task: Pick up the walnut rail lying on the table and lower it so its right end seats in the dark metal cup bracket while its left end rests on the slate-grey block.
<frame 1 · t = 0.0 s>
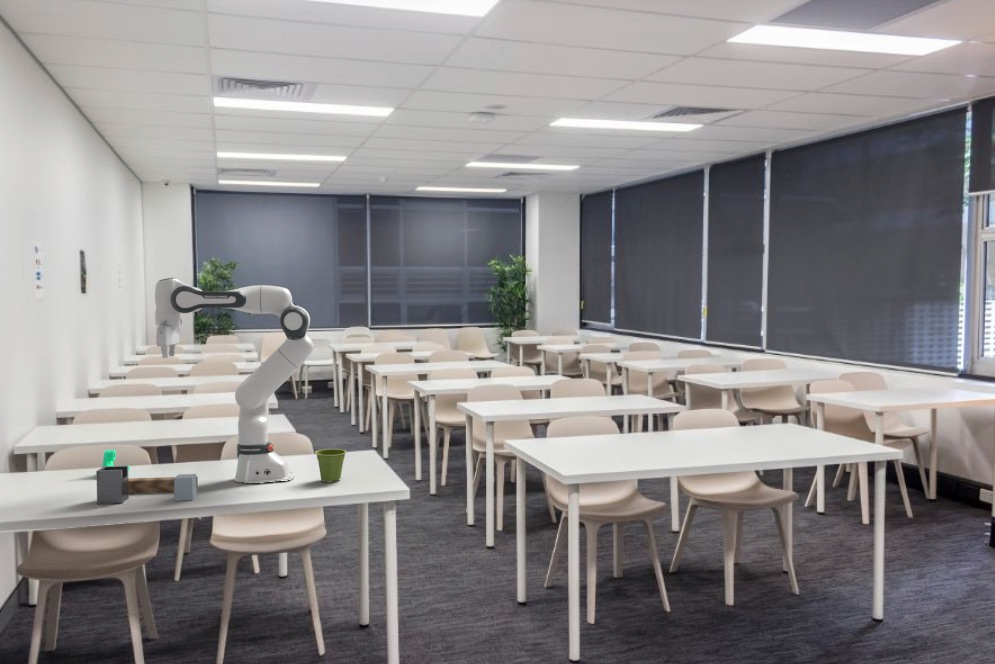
hand: (168, 357, 297), 48 cm above the table, tool pointing down, fingers open, 8 cm apart
camera mount: (116, 476, 310), on the table
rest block: (185, 498, 274), on the table
cup bracket: (113, 501, 271), on the table
plant pot: (331, 481, 301), on the table
rail: (159, 492, 284), on the table
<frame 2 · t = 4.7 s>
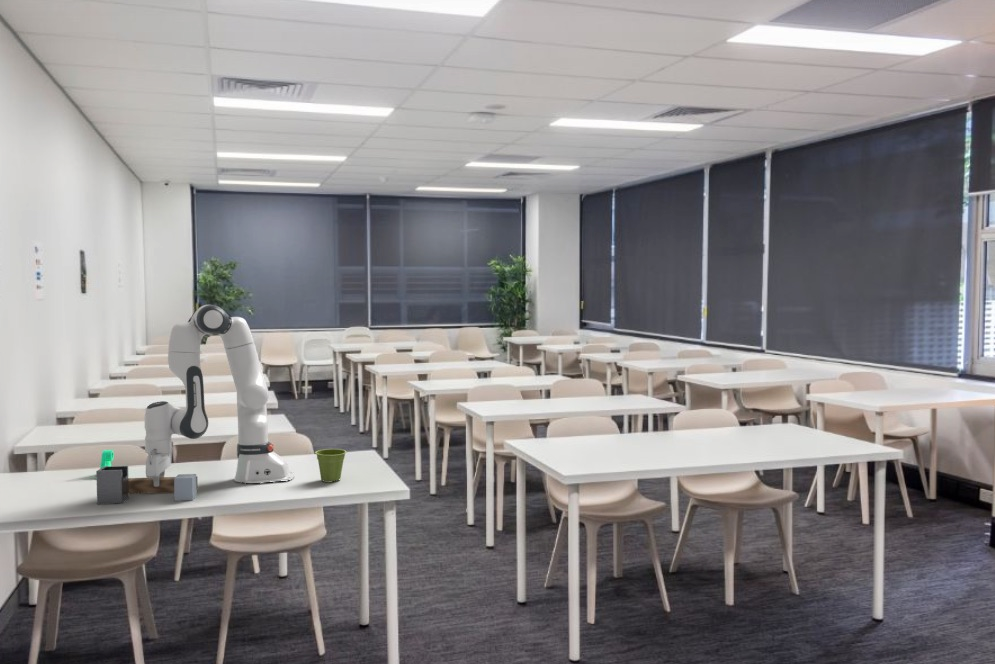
hand: (158, 484, 284), 3 cm above the table, tool pointing down, fingers closed on rail, 4 cm apart
rail: (159, 492, 284), on the table, touching gripper
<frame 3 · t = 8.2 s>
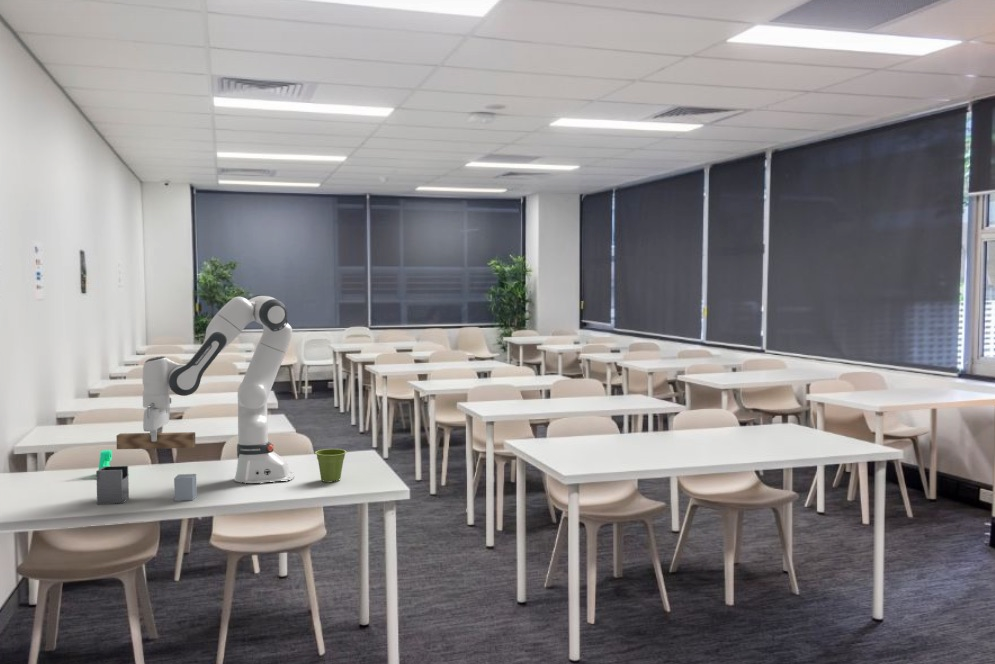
hand: (156, 439, 282), 19 cm above the table, tool pointing down, fingers closed on rail, 4 cm apart
rail: (156, 447, 282), point 16 cm above the table, touching gripper
when the fingers open (12 cm above the table, at t = 11.8 s): rail stays where it is, resting on cup bracket, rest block.
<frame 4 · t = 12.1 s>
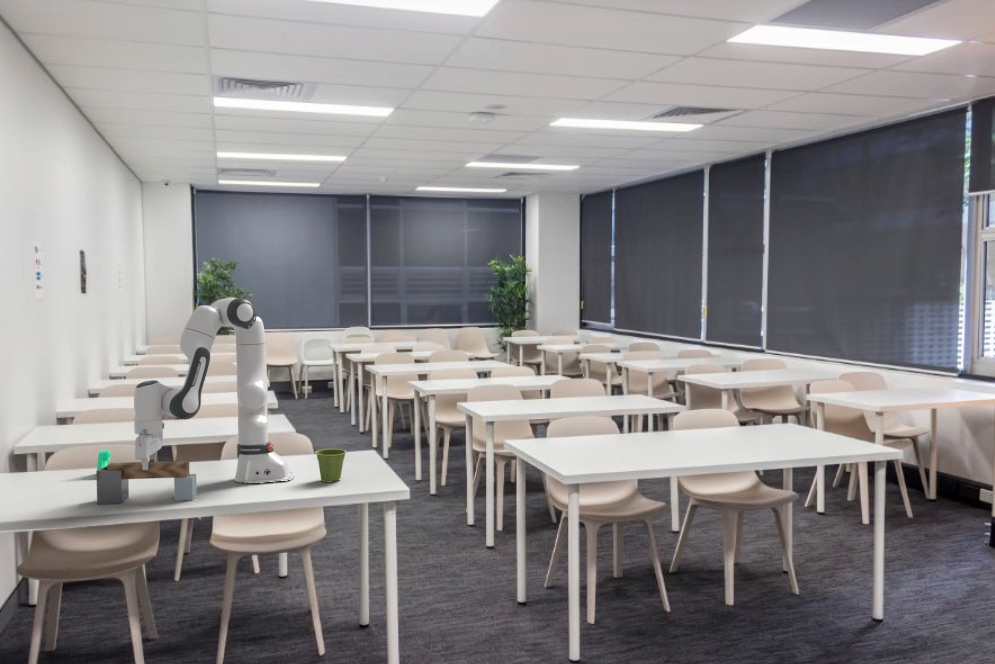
hand: (149, 467, 272), 12 cm above the table, tool pointing down, fingers open, 7 cm apart
rail: (149, 477, 272), point 8 cm above the table, touching cup bracket, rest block
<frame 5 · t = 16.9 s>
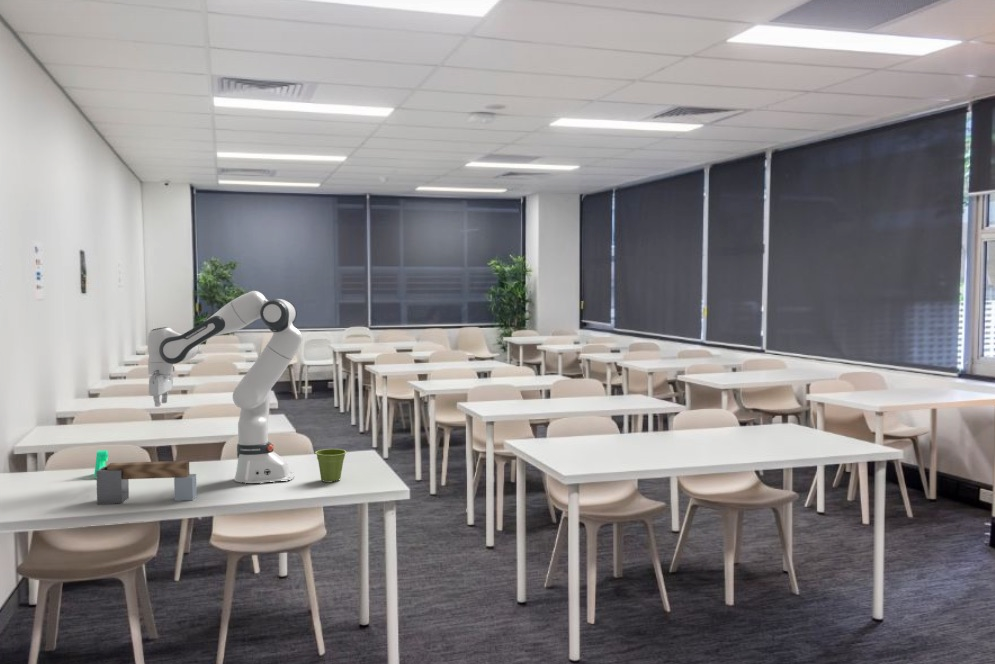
hand: (161, 404, 302), 29 cm above the table, tool pointing down, fingers open, 8 cm apart
at the end: rail 0.1 cm from the target spot, point 8.0 cm above the table; rail tilted 0°; the gripper is holding nothing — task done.
